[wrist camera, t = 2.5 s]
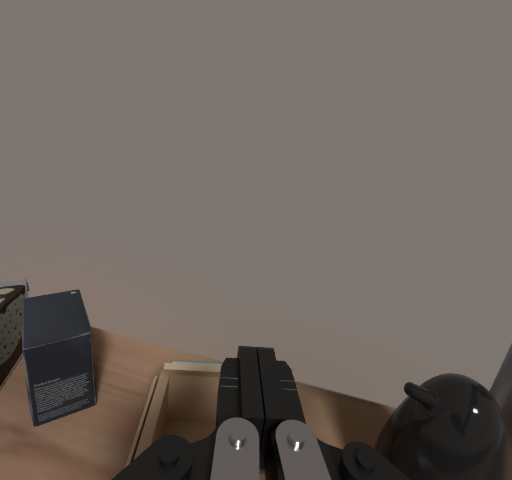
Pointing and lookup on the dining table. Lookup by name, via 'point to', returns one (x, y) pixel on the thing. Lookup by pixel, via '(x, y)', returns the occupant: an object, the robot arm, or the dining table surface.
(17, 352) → the food container
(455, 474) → the black egg-shaped piece
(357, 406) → the dining table surface
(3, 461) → the dining table surface
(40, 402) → the small box
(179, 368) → the flap
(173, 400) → the carton
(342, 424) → the dining table surface
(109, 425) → the dining table surface
